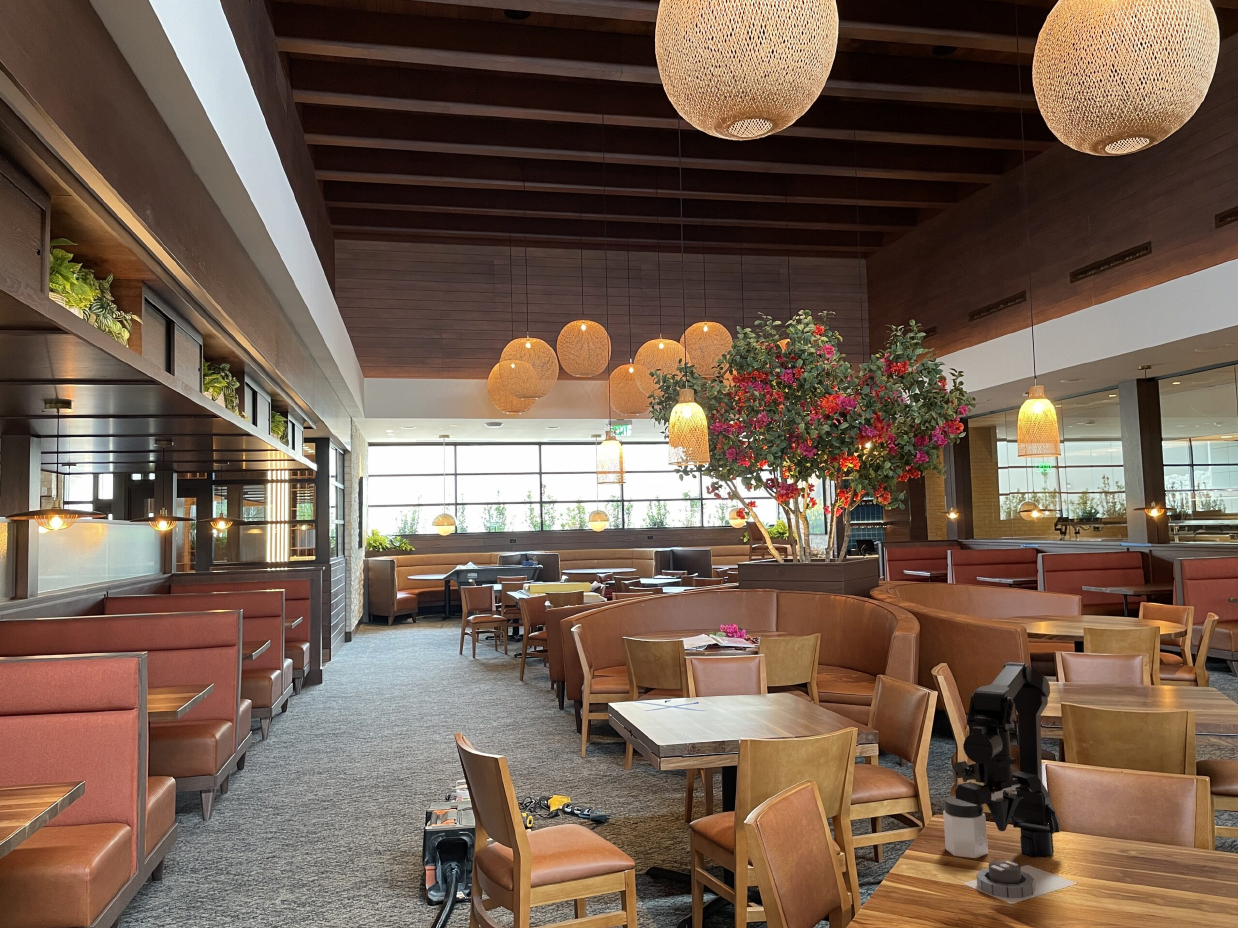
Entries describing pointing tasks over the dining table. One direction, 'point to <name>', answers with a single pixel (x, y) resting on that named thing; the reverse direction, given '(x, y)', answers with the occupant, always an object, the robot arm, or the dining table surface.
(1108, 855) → the dining table surface
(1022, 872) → the plate
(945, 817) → the jar
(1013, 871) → the cap
